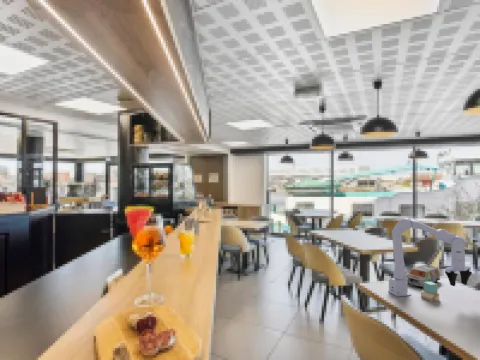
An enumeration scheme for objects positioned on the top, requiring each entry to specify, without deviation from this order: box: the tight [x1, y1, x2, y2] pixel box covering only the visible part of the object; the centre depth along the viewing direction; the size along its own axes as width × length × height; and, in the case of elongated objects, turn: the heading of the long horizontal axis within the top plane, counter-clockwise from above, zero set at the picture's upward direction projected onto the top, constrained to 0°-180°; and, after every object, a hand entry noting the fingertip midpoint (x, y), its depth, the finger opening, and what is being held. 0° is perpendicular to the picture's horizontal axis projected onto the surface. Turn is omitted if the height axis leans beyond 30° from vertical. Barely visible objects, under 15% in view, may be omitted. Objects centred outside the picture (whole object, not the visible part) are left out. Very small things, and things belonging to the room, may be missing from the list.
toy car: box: [406, 264, 441, 290], centre depth 183 cm, size 11×25×10 cm, turn 123°
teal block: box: [423, 282, 438, 294], centre depth 158 cm, size 4×4×5 cm
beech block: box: [420, 289, 440, 303], centre depth 158 cm, size 6×6×4 cm
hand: (458, 284), depth 151 cm, fingers open, 7 cm apart
